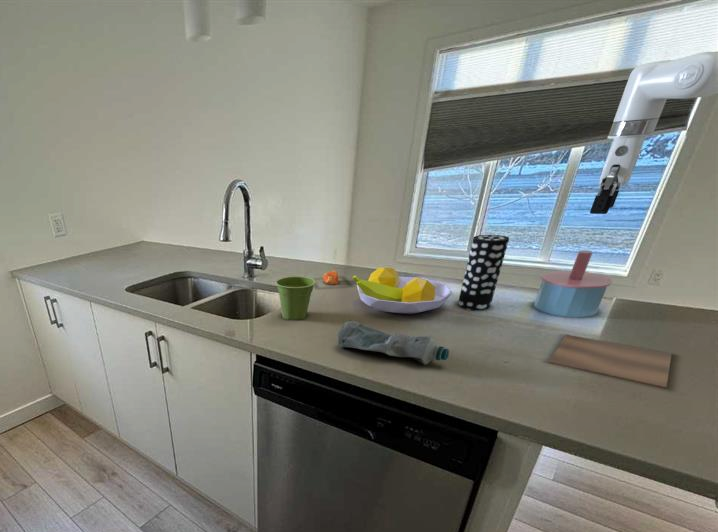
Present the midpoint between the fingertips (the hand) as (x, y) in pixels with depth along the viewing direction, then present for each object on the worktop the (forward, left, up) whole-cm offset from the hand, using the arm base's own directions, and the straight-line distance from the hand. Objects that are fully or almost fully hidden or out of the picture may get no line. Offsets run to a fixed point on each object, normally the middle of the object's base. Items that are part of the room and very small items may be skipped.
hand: (601, 210), depth 100 cm
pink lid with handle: (0, 0, -18) cm, 18 cm away
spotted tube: (+21, -7, -26) cm, 34 cm away
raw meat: (+55, -40, -25) cm, 73 cm away
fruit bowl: (+42, -12, -26) cm, 51 cm away
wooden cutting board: (+12, +30, -26) cm, 41 cm away
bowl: (0, 0, -26) cm, 26 cm away
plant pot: (+74, -9, -26) cm, 79 cm away
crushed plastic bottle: (+56, +21, -26) cm, 65 cm away
